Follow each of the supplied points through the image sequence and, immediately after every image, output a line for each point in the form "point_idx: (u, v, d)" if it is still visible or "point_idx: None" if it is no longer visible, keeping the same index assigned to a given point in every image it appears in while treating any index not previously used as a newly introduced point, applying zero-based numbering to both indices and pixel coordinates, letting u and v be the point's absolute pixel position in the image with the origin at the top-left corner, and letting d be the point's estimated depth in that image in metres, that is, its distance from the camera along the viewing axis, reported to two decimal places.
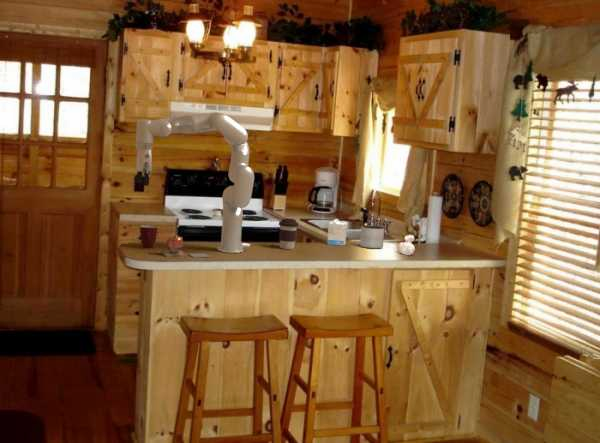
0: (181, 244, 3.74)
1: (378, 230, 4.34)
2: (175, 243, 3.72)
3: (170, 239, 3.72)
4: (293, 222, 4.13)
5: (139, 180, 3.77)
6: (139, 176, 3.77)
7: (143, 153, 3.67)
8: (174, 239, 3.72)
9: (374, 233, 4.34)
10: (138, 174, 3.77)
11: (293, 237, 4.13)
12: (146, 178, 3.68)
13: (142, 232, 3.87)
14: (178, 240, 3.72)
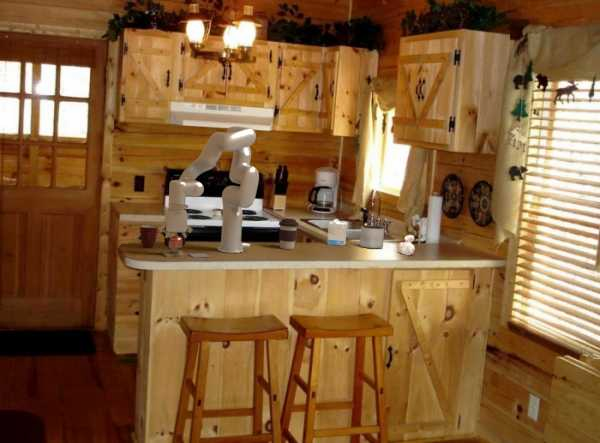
0: (181, 244, 3.74)
1: (378, 230, 4.34)
2: (175, 243, 3.72)
3: (170, 239, 3.72)
4: (293, 222, 4.13)
5: None
6: None
7: (186, 214, 3.74)
8: (174, 239, 3.72)
9: (374, 233, 4.34)
10: None
11: (293, 237, 4.13)
12: None
13: (142, 232, 3.87)
14: (178, 240, 3.72)
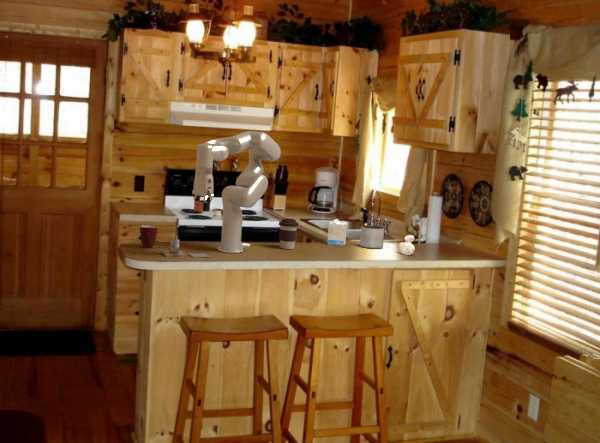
0: (200, 208, 3.72)
1: (378, 230, 4.34)
2: (194, 206, 3.73)
3: None
4: (293, 222, 4.13)
5: None
6: None
7: (206, 178, 3.69)
8: None
9: (374, 233, 4.34)
10: (196, 200, 3.77)
11: (293, 237, 4.13)
12: (208, 204, 3.71)
13: (142, 232, 3.87)
14: (196, 203, 3.72)
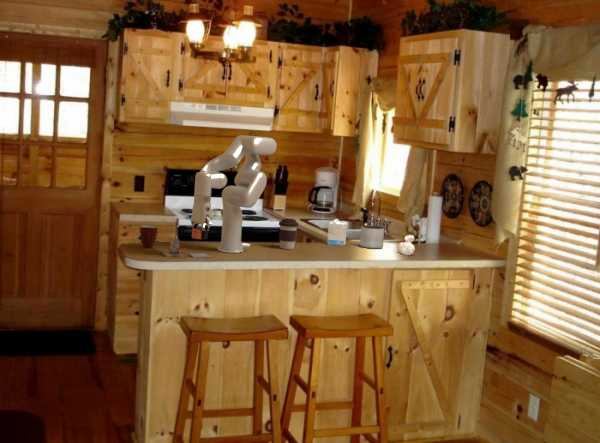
0: (198, 236, 3.73)
1: (378, 230, 4.34)
2: (192, 233, 3.75)
3: None
4: (293, 222, 4.13)
5: None
6: None
7: (204, 206, 3.71)
8: None
9: (374, 233, 4.34)
10: None
11: (293, 237, 4.13)
12: (206, 232, 3.73)
13: (142, 232, 3.87)
14: (194, 231, 3.74)
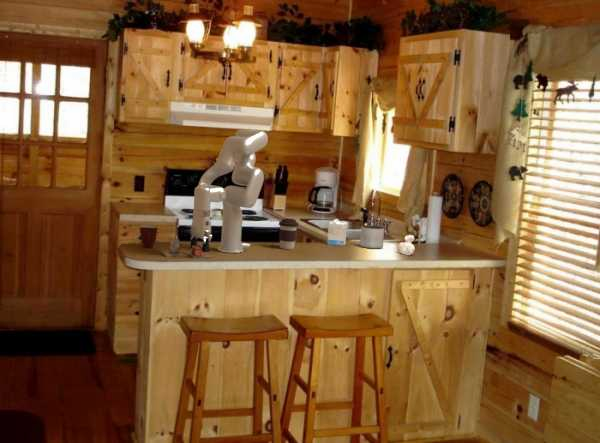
0: (197, 253, 3.75)
1: (378, 230, 4.34)
2: (192, 251, 3.76)
3: None
4: (293, 222, 4.13)
5: None
6: (193, 242, 3.80)
7: (204, 220, 3.72)
8: (192, 246, 3.76)
9: (374, 233, 4.34)
10: (193, 240, 3.80)
11: (293, 237, 4.13)
12: (207, 245, 3.73)
13: (142, 232, 3.87)
14: (194, 248, 3.75)
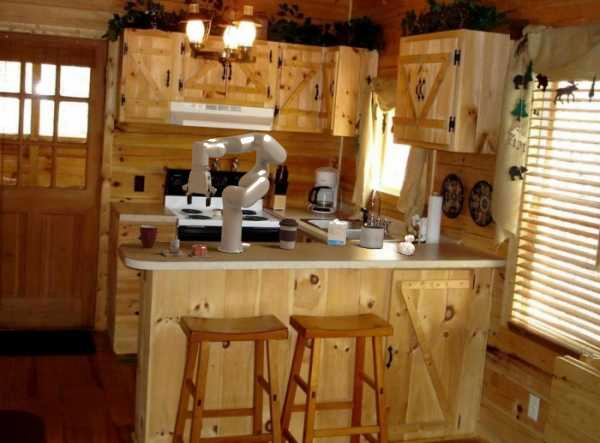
0: (197, 253, 3.75)
1: (378, 230, 4.34)
2: (192, 251, 3.76)
3: None
4: (293, 222, 4.13)
5: (190, 201, 3.80)
6: (190, 197, 3.80)
7: (206, 175, 3.74)
8: (192, 246, 3.76)
9: (374, 233, 4.34)
10: (189, 196, 3.79)
11: (293, 237, 4.13)
12: (210, 199, 3.77)
13: (142, 232, 3.87)
14: (194, 248, 3.75)
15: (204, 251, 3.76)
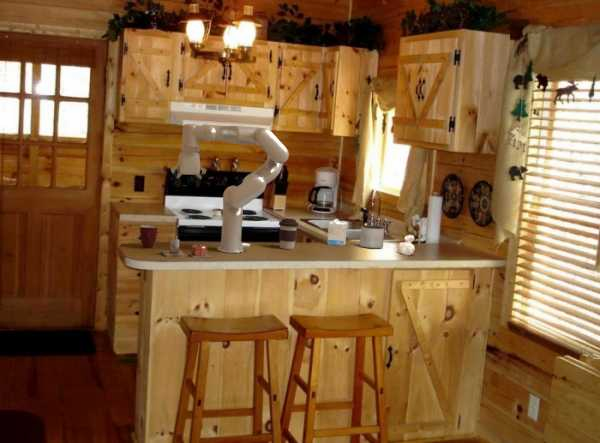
0: (197, 253, 3.75)
1: (378, 230, 4.34)
2: (192, 251, 3.76)
3: None
4: (293, 222, 4.13)
5: None
6: None
7: (199, 157, 3.86)
8: (192, 246, 3.76)
9: (374, 233, 4.34)
10: (179, 178, 3.84)
11: (293, 237, 4.13)
12: None
13: (142, 232, 3.87)
14: (194, 248, 3.75)
15: (204, 251, 3.76)
